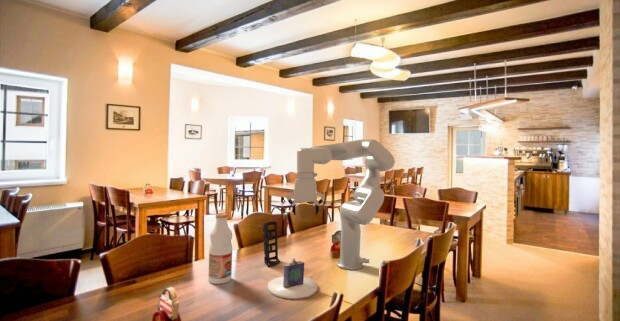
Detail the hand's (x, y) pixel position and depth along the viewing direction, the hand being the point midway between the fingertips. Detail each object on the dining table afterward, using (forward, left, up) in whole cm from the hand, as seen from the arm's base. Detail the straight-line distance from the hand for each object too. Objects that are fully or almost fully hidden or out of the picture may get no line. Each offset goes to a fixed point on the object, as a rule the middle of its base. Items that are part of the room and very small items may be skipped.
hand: (305, 214), depth 146 cm
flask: (+4, +13, -27) cm, 30 cm away
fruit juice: (+35, +8, -28) cm, 46 cm away
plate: (+4, +14, -28) cm, 31 cm away
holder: (+16, -14, -28) cm, 35 cm away
